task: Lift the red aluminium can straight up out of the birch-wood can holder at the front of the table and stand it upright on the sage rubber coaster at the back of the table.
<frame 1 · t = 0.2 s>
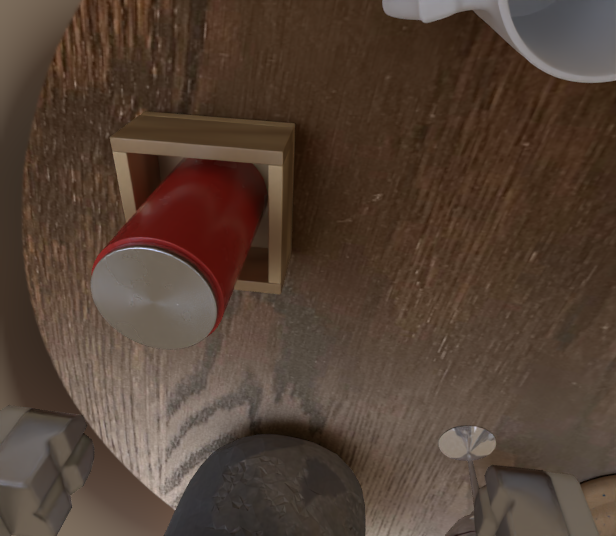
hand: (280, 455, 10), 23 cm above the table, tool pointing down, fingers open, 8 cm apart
wineglass: (466, 442, 44), on the table
holder: (223, 187, 32), on the table
dark grey metal pot: (279, 452, 48), on the table
can: (220, 192, 31), point 1 cm above the table, touching holder
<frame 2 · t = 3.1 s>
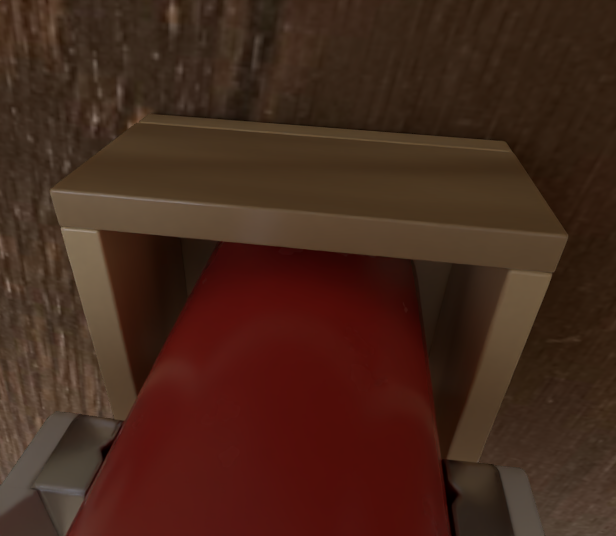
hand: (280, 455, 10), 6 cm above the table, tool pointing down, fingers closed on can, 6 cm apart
holder: (314, 273, 15), on the table
can: (311, 288, 14), point 1 cm above the table, touching gripper, holder
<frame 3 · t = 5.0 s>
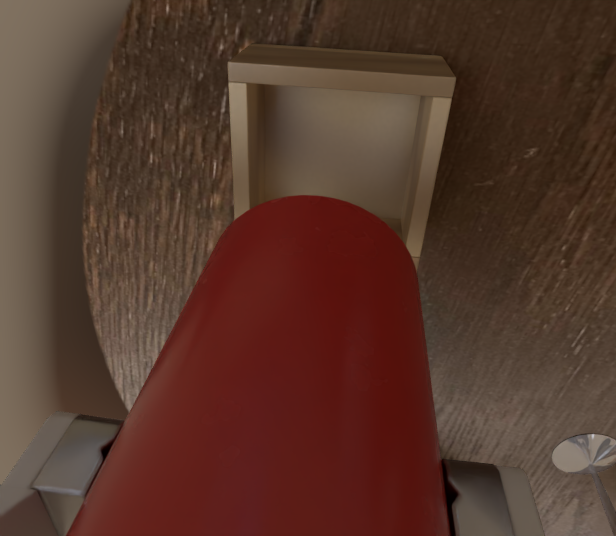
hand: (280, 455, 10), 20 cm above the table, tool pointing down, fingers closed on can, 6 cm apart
wineglass: (585, 452, 38), on the table
holder: (338, 142, 26), on the table
can: (311, 289, 14), point 14 cm above the table, touching gripper
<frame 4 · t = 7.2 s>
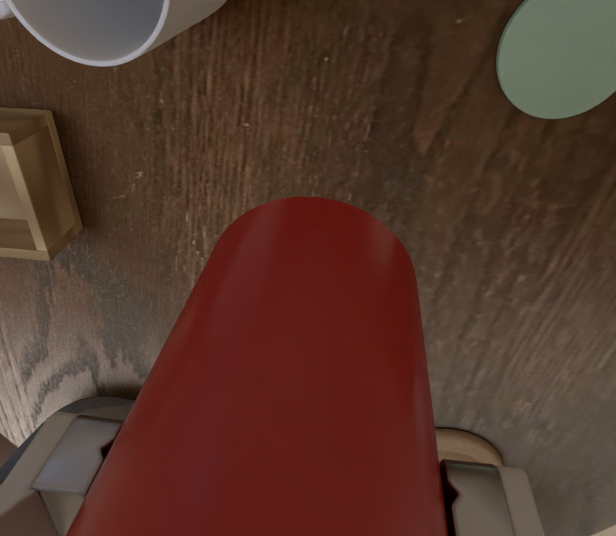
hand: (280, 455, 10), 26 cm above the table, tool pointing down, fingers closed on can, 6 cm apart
coaster: (565, 49, 28), on the table
holder: (9, 168, 36), on the table
dark grey metal pot: (129, 416, 52), on the table
candle holder: (438, 462, 51), on the table
can: (310, 290, 15), point 20 cm above the table, touching gripper
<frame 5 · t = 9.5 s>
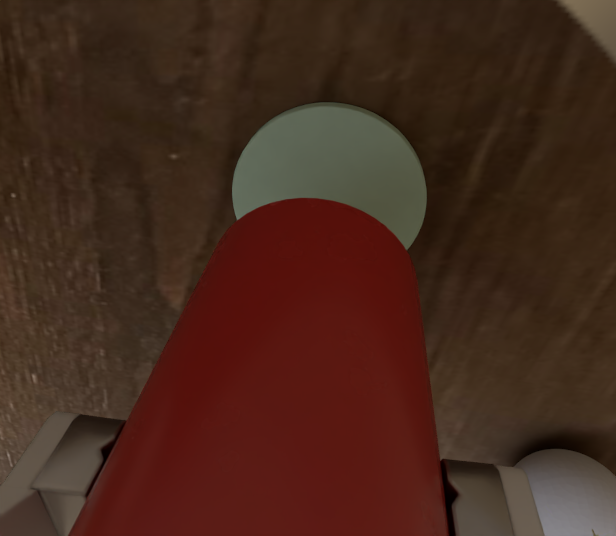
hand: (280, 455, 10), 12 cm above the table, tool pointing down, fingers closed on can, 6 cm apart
ornament: (548, 448, 27), on the table
coaster: (328, 198, 19), on the table
can: (311, 291, 14), point 6 cm above the table, touching gripper
when the fingers open (6 cm above the table, at t = 11.4 s): can stays where it is, resting on coaster.
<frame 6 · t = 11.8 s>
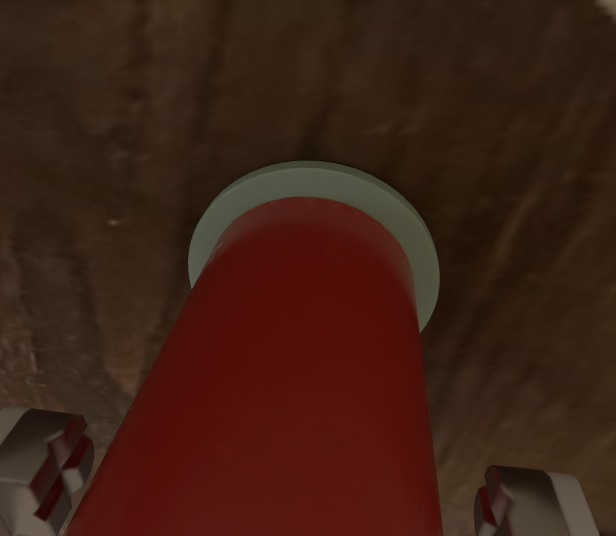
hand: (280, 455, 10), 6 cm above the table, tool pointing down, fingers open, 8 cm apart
coaster: (312, 275, 15), on the table
can: (309, 289, 15), point 1 cm above the table, touching coaster
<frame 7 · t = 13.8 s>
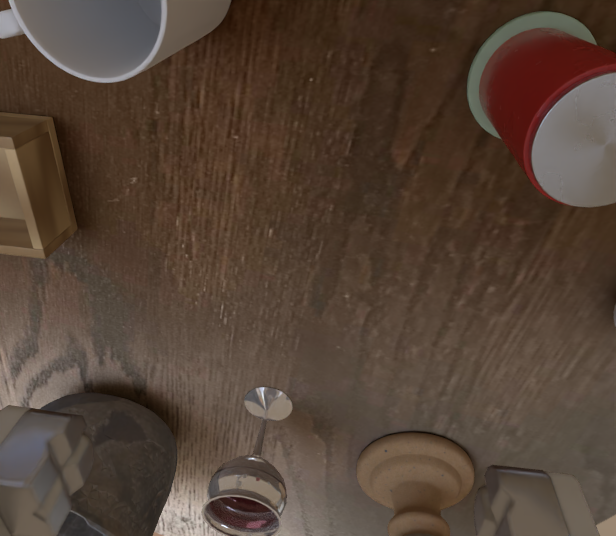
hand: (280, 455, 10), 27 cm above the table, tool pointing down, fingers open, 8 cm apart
wineglass: (268, 402, 50), on the table
coaster: (529, 79, 30), on the table
holder: (9, 170, 38), on the table
dark grey metal pot: (115, 413, 53), on the table
candle holder: (413, 466, 52), on the table
can: (531, 83, 30), point 1 cm above the table, touching coaster
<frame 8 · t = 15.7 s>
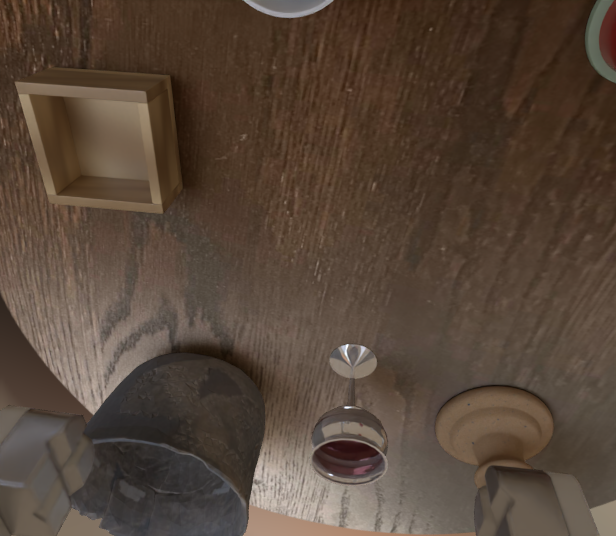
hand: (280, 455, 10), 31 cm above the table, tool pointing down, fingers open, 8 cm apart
wineglass: (353, 360, 51), on the table
holder: (121, 130, 39), on the table
dark grey metal pot: (199, 375, 55), on the table
candle holder: (491, 421, 54), on the table
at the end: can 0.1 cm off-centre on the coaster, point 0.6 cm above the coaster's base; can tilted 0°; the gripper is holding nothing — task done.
